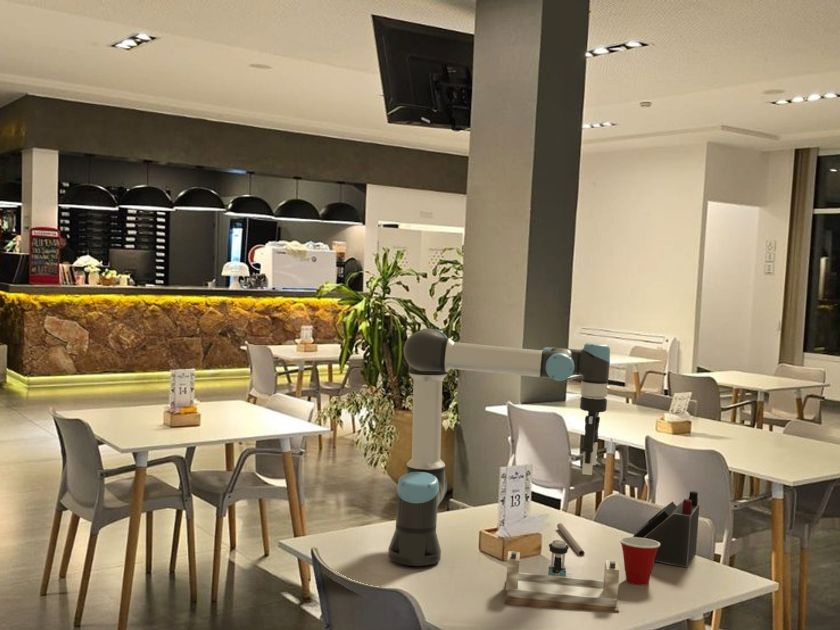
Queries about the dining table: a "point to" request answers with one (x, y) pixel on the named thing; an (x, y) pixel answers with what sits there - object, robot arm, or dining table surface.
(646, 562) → the plastic cup
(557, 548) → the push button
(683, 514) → the dark desk organizer
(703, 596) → the dining table surface
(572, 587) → the board
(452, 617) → the dining table surface
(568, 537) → the metal rod
